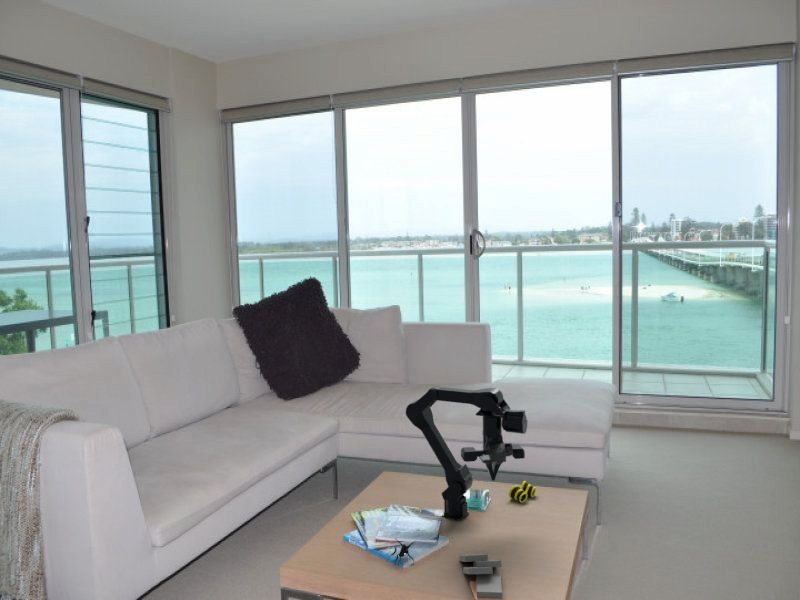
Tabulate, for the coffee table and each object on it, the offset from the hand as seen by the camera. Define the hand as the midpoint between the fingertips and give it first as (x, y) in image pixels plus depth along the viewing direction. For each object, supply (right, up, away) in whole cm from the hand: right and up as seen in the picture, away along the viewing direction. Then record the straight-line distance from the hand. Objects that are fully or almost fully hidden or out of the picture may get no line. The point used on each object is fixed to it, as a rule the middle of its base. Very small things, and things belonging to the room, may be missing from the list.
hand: (492, 480), depth 200 cm
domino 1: (-9, -15, -23) cm, 29 cm away
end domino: (-8, -16, -36) cm, 40 cm away
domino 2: (-9, -15, -30) cm, 35 cm away
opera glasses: (+13, -12, +19) cm, 26 cm away
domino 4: (-6, -15, -35) cm, 39 cm away
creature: (-28, -16, -23) cm, 40 cm away
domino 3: (-6, -15, -26) cm, 31 cm away
